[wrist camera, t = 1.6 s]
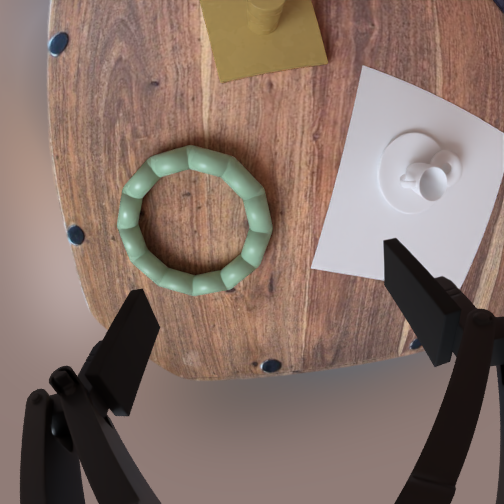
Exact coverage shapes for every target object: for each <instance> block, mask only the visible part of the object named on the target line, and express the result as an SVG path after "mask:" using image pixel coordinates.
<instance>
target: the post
mask: <svg viewBox="0 0 504 504" xmlns="http://www.w3.org/2000/svg"><path fill="white" fill-rule="evenodd" d="M200 4H201V8H202V12H203V16H204V20H205V24H206V28H207V32H208V35H209V39H210V43H211V47H212V51H213V55H214V59H215V63H216V67H217V71H218V75H219V79H220V82H221V83H226V82H230V81H235V80H239V79H244V78H248V77H253V76H258V75H263V74H268V73H274V72H280V71H286V70H292V69H298V68H305V67H313V66H321V65H326V64H328V60H327V56H326V52H325V48H324V44H323V40H322V36H321V32H320V29H319V25H318V22H317V18H316V15H315V11H314V8H313V4H312V1H311V0H200Z"/></svg>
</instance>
